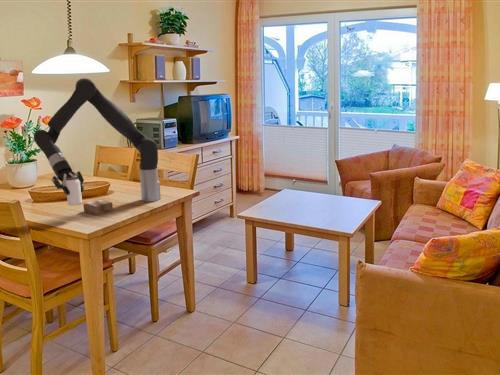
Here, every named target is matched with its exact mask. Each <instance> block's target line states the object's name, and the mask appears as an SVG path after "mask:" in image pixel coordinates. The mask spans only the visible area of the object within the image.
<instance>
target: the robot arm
mask: <svg viewBox="0 0 500 375" xmlns="http://www.w3.org/2000/svg"><path fill="white" fill-rule="evenodd" d="M86 102H89V103H90V104H91V105H92V106H93V107H94V108H95V109H96V110H97V112H98V113H99V114H100V115H101V117H102V118H103V119H104V120H105V121H106V122H107V123H108V124H109V125H110V126H111V127H112V128H113V129H115V130H116V131H117V132H118V133H119V134H121V135H122V136H123V137H125V138H126V139H127V140H128V141H129V142H130V143H131V144H132V145H133V146H134V148H135V149H136V150H137V151H138V153H139V156H140V162H139V178H140V180H139V181H140V192H141V194H140V195H141V201H142V202H147V203H149V202H156V201H159V200H161V183H160V181H159V176H158V174H159V173H158V164H159V163H158V162H159V152H158V150H159V149H158V145H157V142H155V140H153V139H151V138H149V137H148V136H146V135H145V134H144V133H142V132H141V131H140V130H139V129H138V128H137V127H136V125H135V124H134V122H133V121H132V120H131V119H130V117H129V116H128V115H127V113H126V112H124V111H123V110H122V109H121V108H120V107H119V106H118V105H116V104H115V103H114V102H113V101H111V100H110V99H108V98H107V97H106V96H105V95H104V94H103V93H102V92H101V91H100V89H98V87H97V86H96V84H95V82H93V81H92V80H91V79H89V78H85V77H84V78H80V79H78V80H77V81H76V83H75V89H74V91H73V93H72V95H70V98H68V100H67V101H65V103H64V104H63V105H62V106H61V107H60V108H59V109H58V110H57V111H56V112H55V113H54V114H53V115H52V116H51V118H50V119H49V121H48V122H47V126H48V127H49V129H48V131H47V130H44V129H38V130H36V131H35V132H34V135H33V141H34V143H35V144H36V145H37V146H38V148H39V149H40V150H41V151H42V152H43V154H44V155H45V157H46V159H47V160H48V161H47V162H48V163H49V165H50V167H51V169H52V171H53V172H54V174H55V175H53V176H52V178H51V182H52V183H53V184H54V185H55V188H57V190H60V189H61V190H62V191H63V193H64V195H66V196H67V195H69V194H70V192H69V190H68V188H67V187H66V184H65V182H66V179H67V178H72V177H77V178H79V181H80V186H81V193H83V192H84V190H85V188H84V185H83V183H84V181H85V179H84V177H83V174H82V173H81V171H77V172H74V171H73V170H72V166H71V165H70V164H69V162H68V160H67V158H66V157H65V156H64V154H63V153H62V151H61V149H60V148H59V146H58V145H56V142H58V141H57V140H58V139H59V138H60V134H61V132H62V131H63V129H64V128H65V127H66V126H67V124H68V123H69V121H70V120H71V119H72V118H73V117H74V116H75V114H76V113H77V112H78V111H79V110H80V108H81V107H82V106H83V105H84V104H85V103H86ZM60 181H61V182H60Z"/></svg>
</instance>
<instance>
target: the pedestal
mask: <svg viewBox="0 0 500 375" xmlns="http://www.w3.org/2000/svg"><path fill="white" fill-rule="evenodd" d="M113 207H114V206H113V202H111V201H107V200H103V199H98V200H93V201H90V202H85V203H83V212H84V213H88V214H90V215H93V216H98V215H101V214H105V213H109V212H113V211H114V208H113Z"/></svg>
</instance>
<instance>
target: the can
mask: <svg viewBox="0 0 500 375" xmlns="http://www.w3.org/2000/svg"><path fill="white" fill-rule="evenodd" d="M65 184H66V187H67V188H68V190H69V192H70V194H69V195H67V194H66V200H67V204H68V205H69V206H77V205H78V206H79V205H81V204H82V203H83V197H82V196H83V195H82V192H81V186H80V181H79V178H77V177H76V176H75V177H72V178H67V179H66V182H65Z"/></svg>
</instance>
